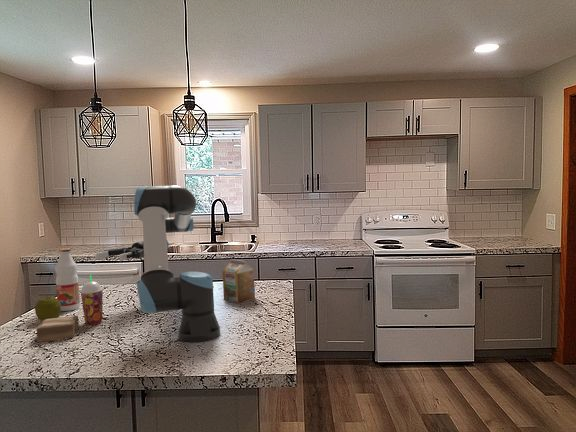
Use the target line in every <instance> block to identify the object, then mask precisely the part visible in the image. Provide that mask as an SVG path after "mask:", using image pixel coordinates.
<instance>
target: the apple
mask: <svg viewBox="0 0 576 432" xmlns="http://www.w3.org/2000/svg"><path fill="white" fill-rule="evenodd" d="M34 312H35V316H36V317H37V319H38V321H41V322H43V320H44V319H52V318H60V314H61V312H62V311H61V304H60V302H59V300H58V299H57V297H54V296H49V297H48V296H46V297H43V298H42V297H41V298H40V299H38V301H37V302H36V304H35V306H34Z"/></svg>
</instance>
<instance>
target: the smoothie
mask: <svg viewBox="0 0 576 432" xmlns="http://www.w3.org/2000/svg"><path fill="white" fill-rule="evenodd" d="M103 289H104V288H102V286H101V285H100V283H98V282H97V281H93V278H92V274H90V275H89V281H88V282H86V283H84V285H82V287H81V290H80V299H81V304H82V311H83V318H84V322H85V324H86V325H89V326H90V325H91V326H92V325H98V324H100V323H102V320H103V314H104V313H103V308H104V307H103V304H104V303H103V302H104V301H103V295H104V294H103Z"/></svg>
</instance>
